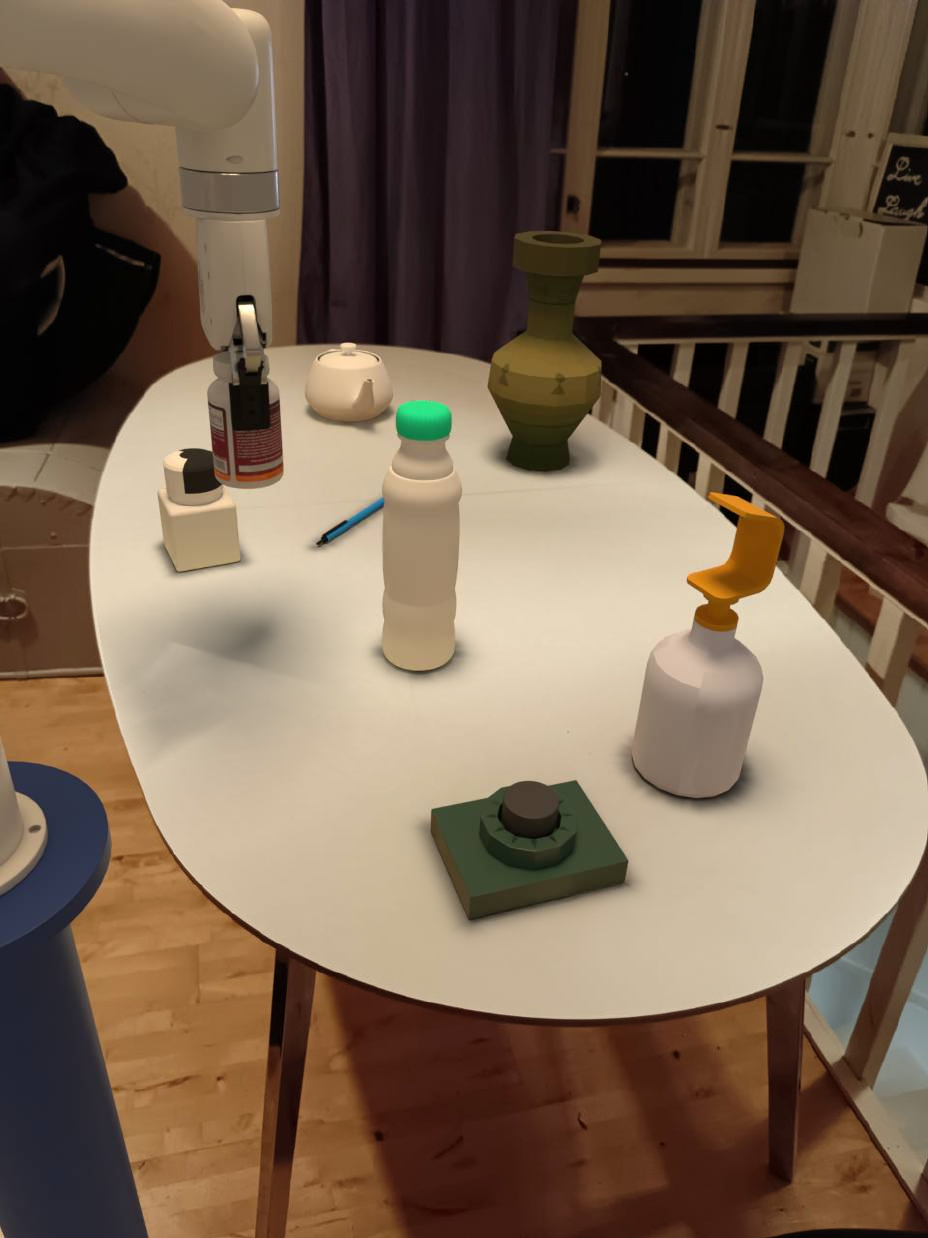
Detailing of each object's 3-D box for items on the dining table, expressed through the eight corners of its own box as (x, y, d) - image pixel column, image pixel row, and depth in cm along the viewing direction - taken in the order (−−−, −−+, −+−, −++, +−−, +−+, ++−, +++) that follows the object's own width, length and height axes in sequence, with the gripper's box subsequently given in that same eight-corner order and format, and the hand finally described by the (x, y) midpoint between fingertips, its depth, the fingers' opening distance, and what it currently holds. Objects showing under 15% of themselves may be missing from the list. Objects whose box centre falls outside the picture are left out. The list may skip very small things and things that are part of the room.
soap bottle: (609, 749, 82) (652, 485, 69) (689, 720, 86) (743, 465, 73) (679, 814, 76) (740, 536, 63) (761, 779, 80) (835, 511, 67)
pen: (314, 546, 112) (314, 537, 111) (400, 490, 126) (400, 482, 126) (320, 548, 111) (320, 539, 111) (406, 492, 126) (406, 484, 125)
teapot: (290, 395, 156) (287, 328, 151) (370, 388, 161) (370, 323, 156) (328, 442, 139) (326, 369, 134) (415, 433, 144) (417, 362, 139)
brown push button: (513, 845, 67) (515, 823, 66) (493, 807, 70) (495, 786, 69) (565, 833, 68) (568, 812, 67) (543, 796, 71) (546, 776, 70)
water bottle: (436, 628, 97) (444, 389, 84) (466, 664, 92) (480, 415, 79) (371, 642, 95) (369, 397, 82) (398, 680, 89) (401, 424, 76)
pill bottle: (293, 469, 89) (289, 351, 83) (269, 495, 84) (262, 371, 78) (231, 461, 90) (222, 344, 84) (202, 486, 85) (191, 362, 79)
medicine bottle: (225, 535, 113) (216, 439, 107) (241, 562, 108) (233, 462, 101) (163, 545, 110) (150, 447, 104) (177, 573, 105) (164, 471, 98)
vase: (575, 490, 129) (602, 256, 113) (465, 468, 134) (476, 241, 118) (606, 450, 142) (634, 236, 126) (504, 431, 147) (519, 223, 131)
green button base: (468, 919, 66) (471, 878, 64) (430, 830, 73) (431, 790, 71) (624, 882, 69) (632, 842, 67) (573, 800, 76) (579, 762, 74)
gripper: (171, 178, 80) (191, 387, 90) (192, 210, 67) (213, 454, 76) (261, 179, 83) (271, 383, 92) (299, 211, 69) (307, 447, 78)
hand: (245, 413), depth 84 cm, fingers closed on pill bottle, 6 cm apart
